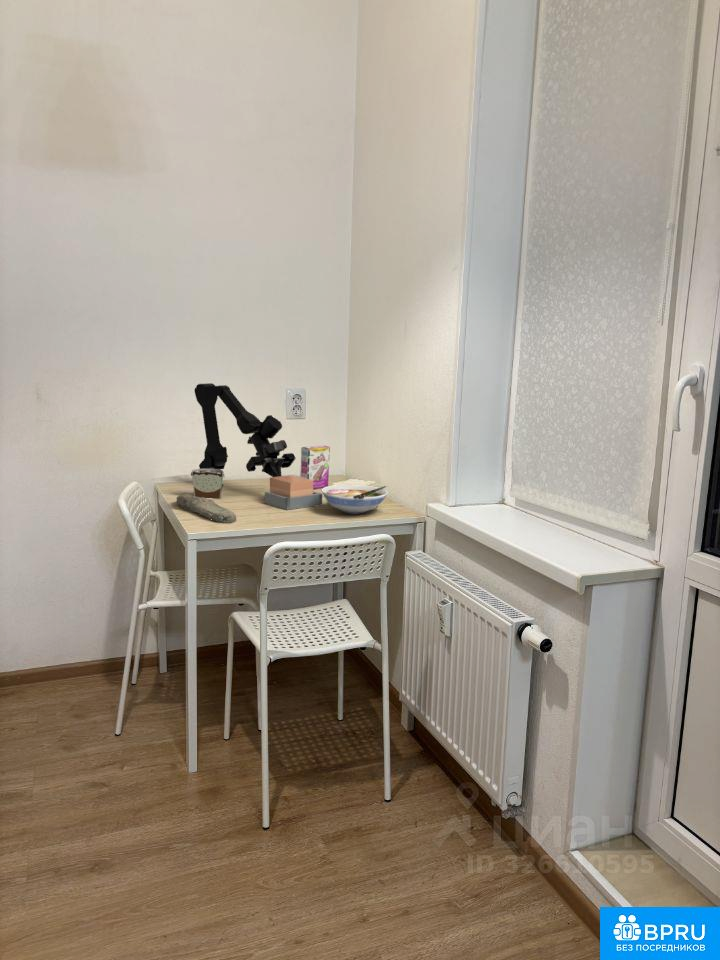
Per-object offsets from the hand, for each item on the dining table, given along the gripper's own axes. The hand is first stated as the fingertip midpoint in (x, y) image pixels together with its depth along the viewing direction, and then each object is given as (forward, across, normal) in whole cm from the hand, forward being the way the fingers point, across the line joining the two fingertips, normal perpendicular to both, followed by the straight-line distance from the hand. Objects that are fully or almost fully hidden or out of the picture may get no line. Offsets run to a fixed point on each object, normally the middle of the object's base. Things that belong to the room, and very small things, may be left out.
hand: (280, 480), depth 279 cm
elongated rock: (+7, -32, +4) cm, 33 cm away
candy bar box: (-3, +25, +13) cm, 28 cm away
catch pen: (+10, 0, 0) cm, 10 cm away
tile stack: (+10, 0, +1) cm, 10 cm away
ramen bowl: (+25, +10, -15) cm, 31 cm away
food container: (-8, -18, +18) cm, 27 cm away
